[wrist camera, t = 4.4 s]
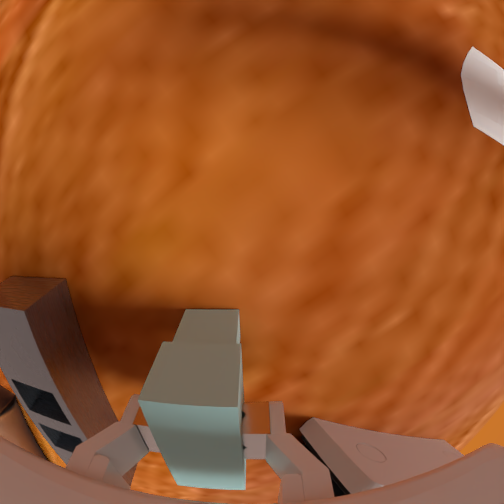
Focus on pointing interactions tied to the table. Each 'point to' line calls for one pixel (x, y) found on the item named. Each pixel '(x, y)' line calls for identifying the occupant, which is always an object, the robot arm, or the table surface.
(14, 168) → the table surface
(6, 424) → the sunglasses case
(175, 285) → the table surface
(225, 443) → the pale teal plug block
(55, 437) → the grey rectangular block
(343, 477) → the napkin holder
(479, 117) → the heart sculpture
